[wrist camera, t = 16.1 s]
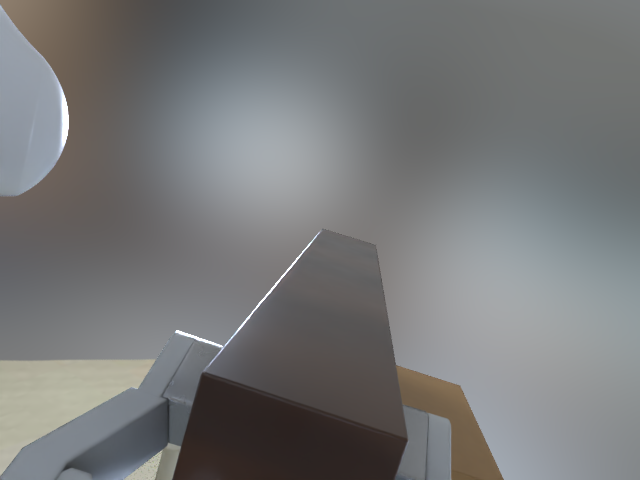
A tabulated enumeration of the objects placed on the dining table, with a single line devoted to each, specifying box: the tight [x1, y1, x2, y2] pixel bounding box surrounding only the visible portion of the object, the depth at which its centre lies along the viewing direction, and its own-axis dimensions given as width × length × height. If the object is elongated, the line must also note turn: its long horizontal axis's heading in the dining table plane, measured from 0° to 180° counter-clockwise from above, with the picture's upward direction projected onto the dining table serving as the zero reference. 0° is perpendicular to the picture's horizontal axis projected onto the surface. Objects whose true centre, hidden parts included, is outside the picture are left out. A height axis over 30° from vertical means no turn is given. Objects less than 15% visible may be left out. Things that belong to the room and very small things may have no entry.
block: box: [172, 229, 408, 480], centre depth 19 cm, size 22×4×4 cm, turn 176°
